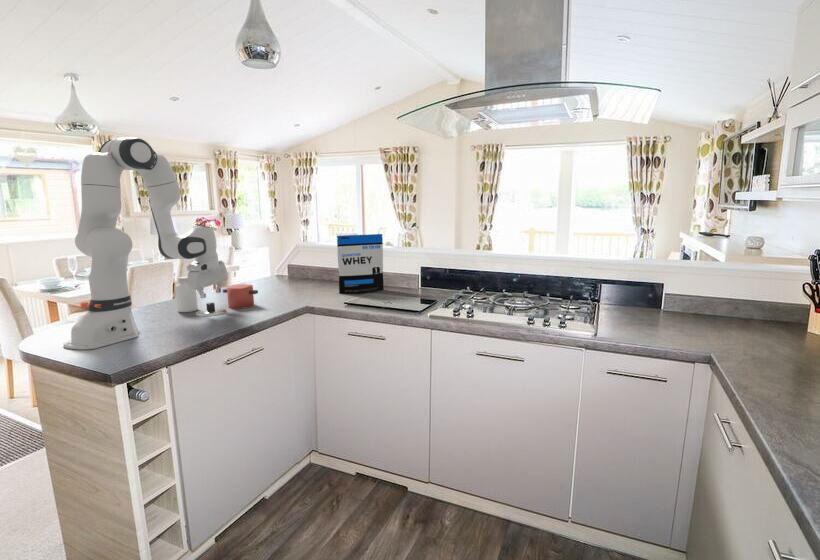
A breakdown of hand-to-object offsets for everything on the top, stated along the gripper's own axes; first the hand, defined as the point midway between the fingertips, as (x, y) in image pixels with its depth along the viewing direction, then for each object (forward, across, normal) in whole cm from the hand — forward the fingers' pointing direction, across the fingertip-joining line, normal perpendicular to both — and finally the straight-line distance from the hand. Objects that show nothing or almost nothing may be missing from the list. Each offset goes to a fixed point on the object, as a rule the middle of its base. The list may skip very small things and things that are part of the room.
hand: (211, 295), depth 186 cm
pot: (+8, -13, +5) cm, 16 cm away
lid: (+8, +1, 0) cm, 8 cm away
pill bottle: (+8, 0, -13) cm, 15 cm away
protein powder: (+10, -55, +48) cm, 74 cm away
